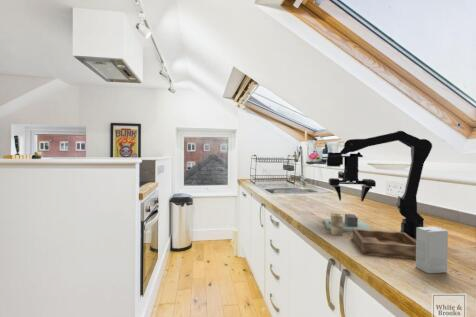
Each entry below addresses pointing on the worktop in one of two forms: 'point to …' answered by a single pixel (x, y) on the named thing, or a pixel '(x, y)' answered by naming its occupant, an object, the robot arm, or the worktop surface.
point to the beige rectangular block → (337, 224)
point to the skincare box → (431, 249)
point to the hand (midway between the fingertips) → (350, 201)
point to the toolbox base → (385, 243)
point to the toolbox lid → (349, 223)
